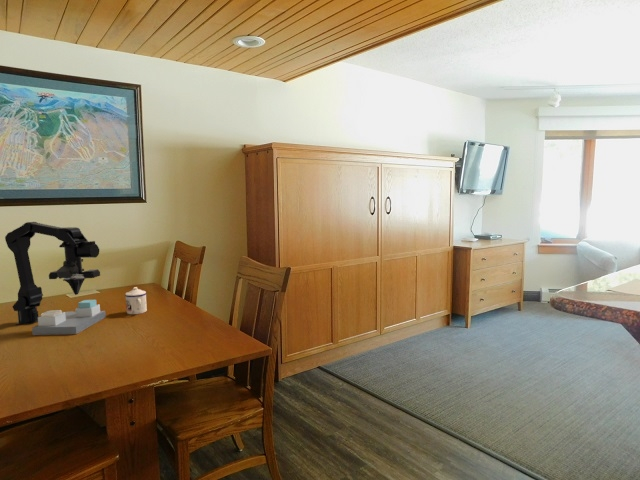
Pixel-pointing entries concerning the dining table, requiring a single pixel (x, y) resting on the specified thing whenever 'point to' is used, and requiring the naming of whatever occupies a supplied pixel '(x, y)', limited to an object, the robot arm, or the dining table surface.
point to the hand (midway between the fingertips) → (76, 294)
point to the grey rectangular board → (69, 321)
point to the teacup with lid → (136, 301)
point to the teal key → (87, 304)
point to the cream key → (51, 313)
